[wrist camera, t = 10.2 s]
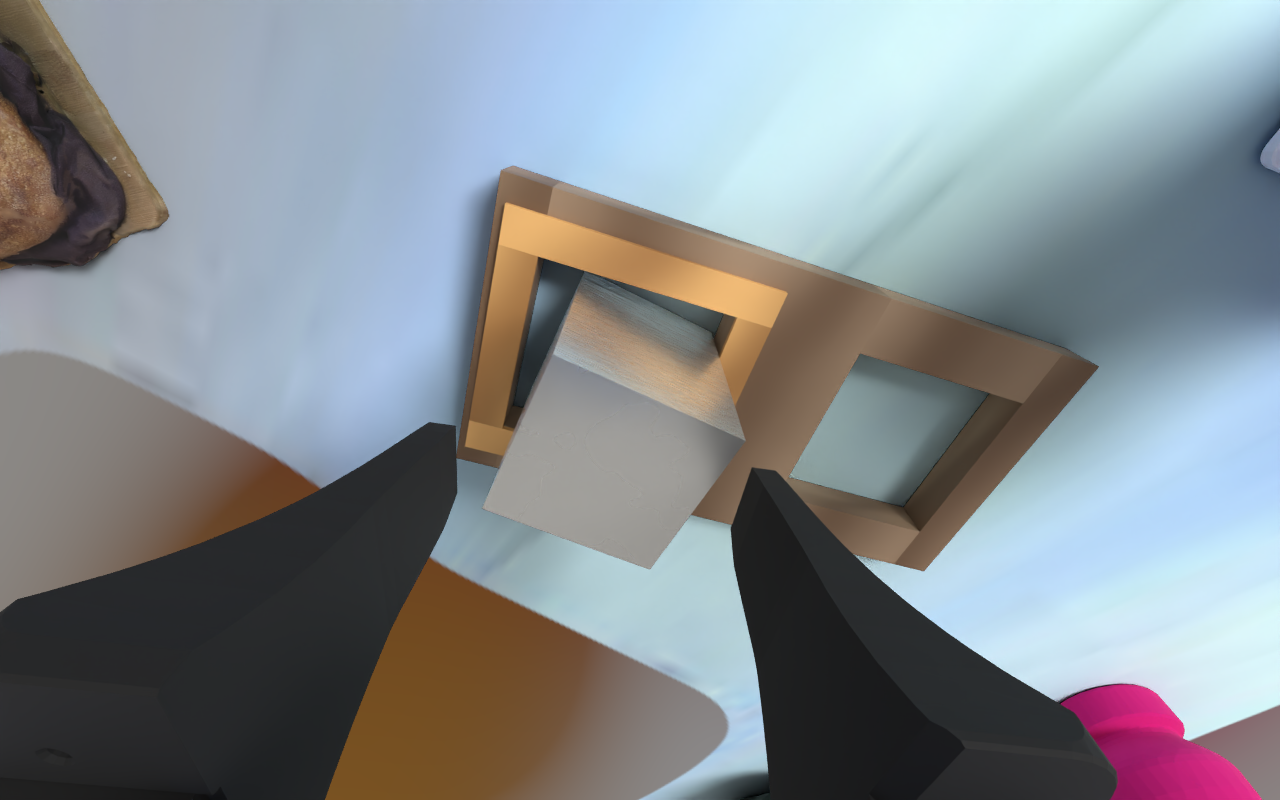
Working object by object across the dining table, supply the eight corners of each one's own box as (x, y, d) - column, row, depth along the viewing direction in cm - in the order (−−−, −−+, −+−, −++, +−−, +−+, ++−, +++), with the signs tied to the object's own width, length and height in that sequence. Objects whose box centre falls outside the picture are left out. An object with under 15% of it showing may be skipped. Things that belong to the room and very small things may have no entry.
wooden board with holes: (1066, 348, 18) (1103, 369, 17) (908, 545, 23) (926, 574, 22) (513, 165, 15) (498, 170, 14) (468, 435, 20) (454, 460, 19)
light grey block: (711, 331, 18) (745, 441, 12) (647, 433, 20) (649, 569, 14) (585, 269, 17) (553, 354, 11) (533, 384, 19) (481, 508, 13)
